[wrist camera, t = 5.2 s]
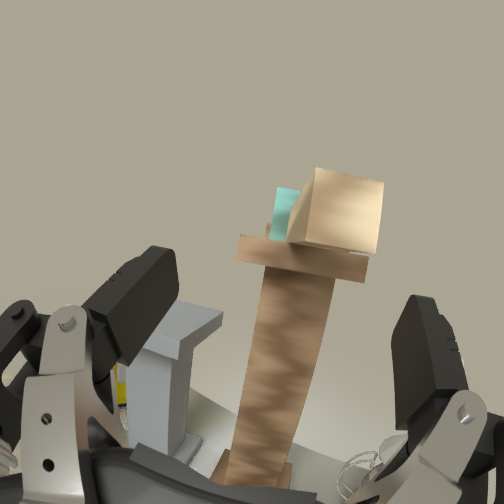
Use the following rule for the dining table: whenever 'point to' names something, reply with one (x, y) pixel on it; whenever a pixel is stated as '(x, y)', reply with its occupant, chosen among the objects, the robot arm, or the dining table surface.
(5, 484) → the robot arm
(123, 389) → the supplement box
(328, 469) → the dining table surface
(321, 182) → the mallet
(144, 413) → the slate pedestal
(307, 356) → the walnut stand
